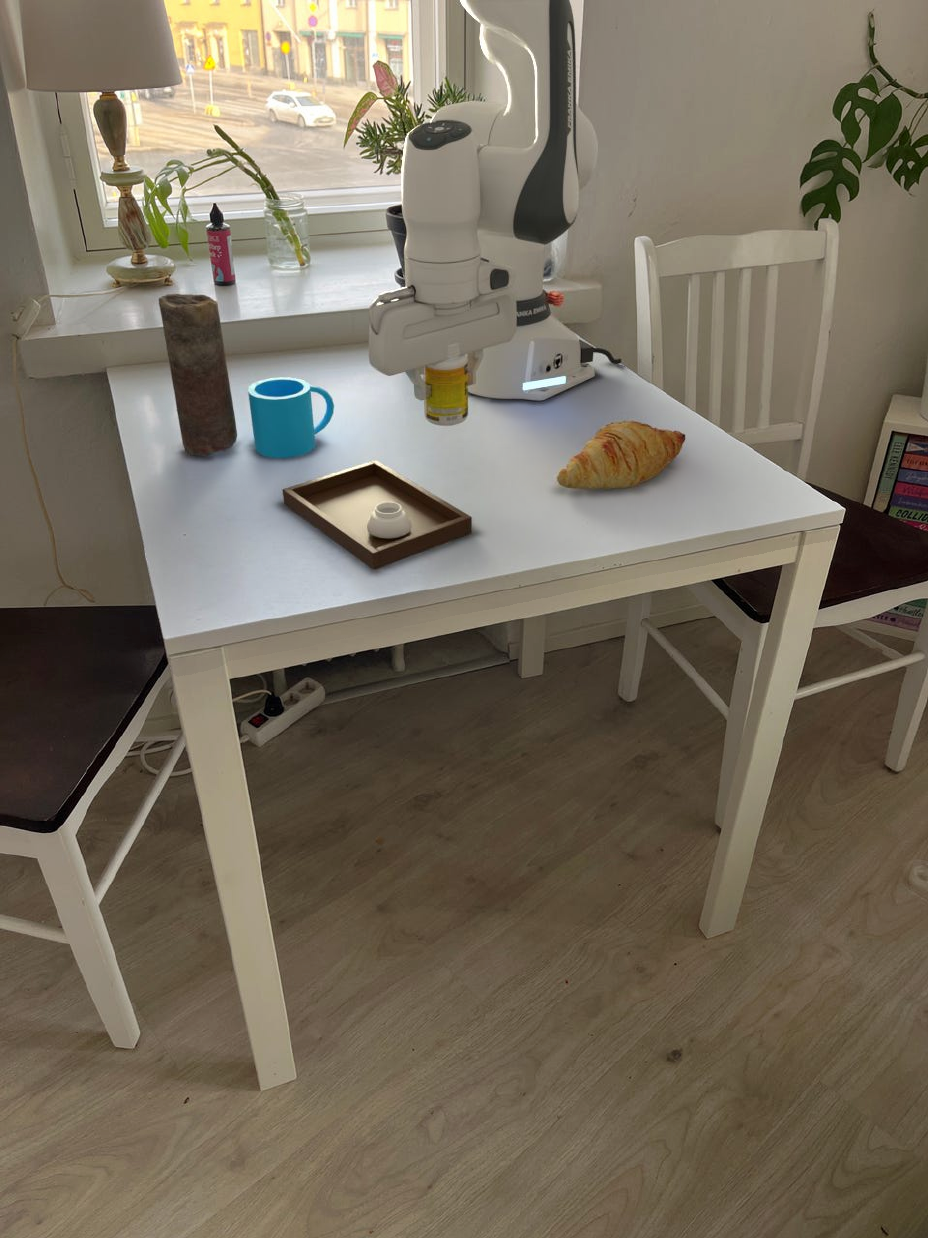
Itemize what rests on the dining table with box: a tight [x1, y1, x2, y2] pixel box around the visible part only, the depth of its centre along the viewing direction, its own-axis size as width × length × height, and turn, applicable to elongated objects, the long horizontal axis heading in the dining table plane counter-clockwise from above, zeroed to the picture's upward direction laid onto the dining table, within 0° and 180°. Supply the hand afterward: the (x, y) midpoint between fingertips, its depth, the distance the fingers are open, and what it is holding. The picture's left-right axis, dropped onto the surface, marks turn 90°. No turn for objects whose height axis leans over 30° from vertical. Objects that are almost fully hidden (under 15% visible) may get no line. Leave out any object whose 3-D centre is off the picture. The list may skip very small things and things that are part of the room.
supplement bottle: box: [422, 342, 469, 427], centre depth 120 cm, size 6×6×10 cm
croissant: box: [556, 420, 686, 490], centre depth 123 cm, size 21×10×8 cm, turn 126°
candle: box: [158, 293, 238, 457], centre depth 126 cm, size 8×7×20 cm
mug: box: [247, 376, 335, 459], centre depth 130 cm, size 12×8×8 cm
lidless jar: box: [367, 502, 412, 539], centre depth 110 cm, size 5×3×5 cm
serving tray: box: [281, 459, 473, 571], centre depth 114 cm, size 14×20×2 cm
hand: (445, 390), depth 121 cm, fingers closed on supplement bottle, 5 cm apart
